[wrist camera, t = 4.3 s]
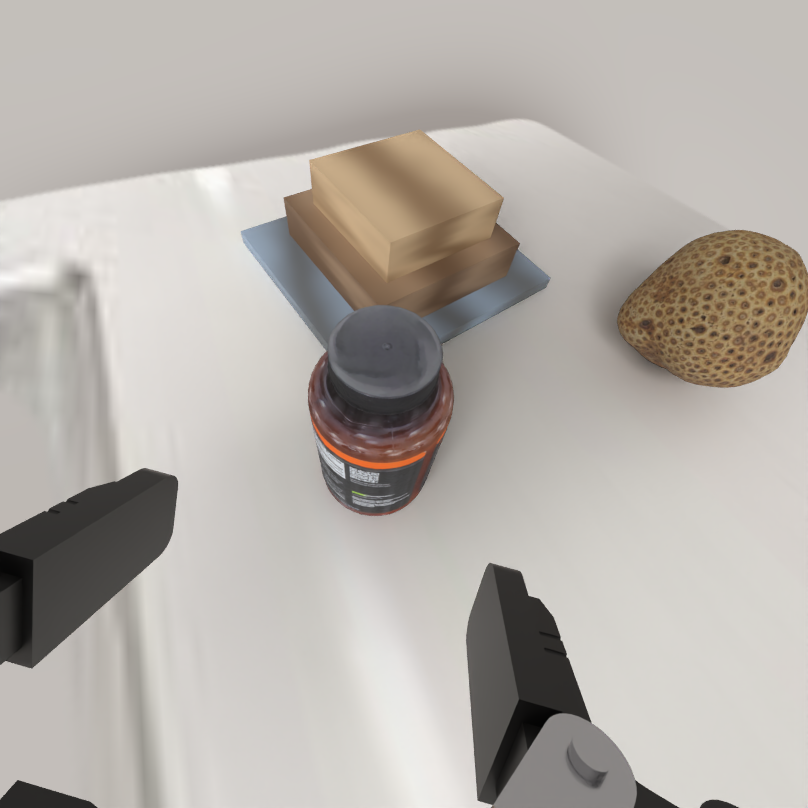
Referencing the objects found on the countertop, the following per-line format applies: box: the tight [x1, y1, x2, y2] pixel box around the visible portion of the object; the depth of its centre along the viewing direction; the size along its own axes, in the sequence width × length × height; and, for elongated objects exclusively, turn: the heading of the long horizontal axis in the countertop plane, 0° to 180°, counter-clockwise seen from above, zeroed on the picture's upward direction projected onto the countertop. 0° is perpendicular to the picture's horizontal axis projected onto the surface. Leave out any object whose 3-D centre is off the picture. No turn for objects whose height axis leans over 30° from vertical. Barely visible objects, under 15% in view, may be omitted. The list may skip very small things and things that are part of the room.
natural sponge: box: [617, 230, 808, 388], centre depth 26 cm, size 9×9×10 cm
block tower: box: [241, 130, 550, 351], centre depth 29 cm, size 18×16×7 cm
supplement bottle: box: [308, 305, 454, 516], centre depth 19 cm, size 6×6×11 cm
